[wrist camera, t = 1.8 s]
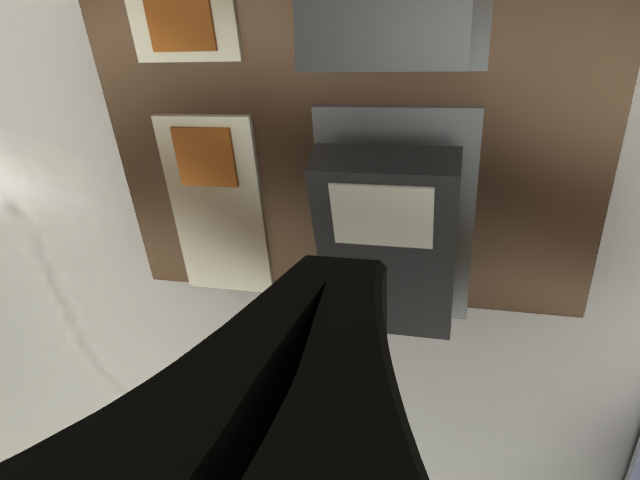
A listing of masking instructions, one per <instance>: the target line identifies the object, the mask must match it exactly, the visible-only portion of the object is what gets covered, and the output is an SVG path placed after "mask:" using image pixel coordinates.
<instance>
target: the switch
mask: <svg viewBox="0 0 640 480" xmlns="http://www.w3.org/2000/svg"><path fill="white" fill-rule="evenodd" d="M462 155H463V146H424V145H381V144H338V143H315V146H314V148H313V151H312V153H311V156H310V158H309V160H308V163H307V165H306V168H305V170H304V174H305V181H306V187H307V193H308V200H309V206H310V212H311V219H312V225H313V231H314V238H315V244H316V251H317V256H329V257H343V258H356V259H370V260H380V261H381V262H382V263H383V264H384V265H385V266H386V267H387V334H397V335H406V336H416V337H425V338H435V339H445V340H450V329H451V314H452V300H453V286H454V272H455V258H456V243H457V229H458V215H459V201H460V187H461V172H462Z"/></svg>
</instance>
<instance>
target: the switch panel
mask: <svg viewBox="0 0 640 480" xmlns="http://www.w3.org/2000/svg"><path fill="white" fill-rule="evenodd" d="M78 1H79V4H80V8H81V12H82V16H83V19H84V23H85V27H86V30H87V34H88V38H89V42H90V45H91V49H92V53H93V56H94V60H95V64H96V67H97V71H98V75H99V79H100V82H101V86H102V90H103V93H104V97H105V101H106V105H107V108H108V112H109V116H110V119H111V123H112V127H113V131H114V134H115V138H116V142H117V145H118V149H119V153H120V157H121V160H122V164H123V168H124V171H125V175H126V179H127V183H128V186H129V190H130V194H131V197H132V201H133V205H134V209H135V212H136V216H137V220H138V223H139V227H140V231H141V235H142V238H143V242H144V246H145V249H146V253H147V257H148V261H149V264H150V268H151V272H152V275H153V279H158V280H169V281H180V282H189V284H190V286H196V287H207V288H218V289H229V290H240V291H251V292H264V291H265V290H266V289H267V288H268V287H269V286H271V285H272V284H273V283H274V282H275V281H276V280H277V279H279V278H280V277H281V276H282V275H283V274H284V273H285V272H287V271H288V270H289V269H290V268H291V267H292V266H294V265H295V264H296V263H297V262H298V261H300V260H301V259H302V258H303V257H304V256H306V255H315V256H317V251H316V244H315V238H314V231H313V225H312V219H311V212H310V206H309V200H308V193H307V187H306V181H305V174H304V170H305V168H306V165H307V163H308V160H309V158H310V156H311V153H312V151H313V148H314V146H315V143H338V144H381V145H424V146H463V155H462V172H461V187H460V201H459V215H458V229H457V243H456V258H455V272H454V286H453V300H452V314H451V318H461V319H466V314H467V307H470V308H481V309H492V310H503V311H514V312H525V313H537V314H548V315H559V316H570V317H581V318H583V316H584V312H585V307H586V303H587V298H588V294H589V289H590V285H591V280H592V276H593V271H594V267H595V263H596V258H597V254H598V249H599V245H600V240H601V236H602V231H603V227H604V222H605V218H606V213H607V209H608V204H609V200H610V196H611V191H612V187H613V182H614V178H615V173H616V169H617V164H618V160H619V155H620V151H621V146H622V142H623V138H624V133H625V129H626V124H627V120H628V115H629V111H630V106H631V102H632V97H633V93H634V88H635V84H636V80H637V75H638V71H639V66H640V0H473V12H472V27H471V42H470V56H469V71H453V72H322V73H295V51H294V23H293V0H78Z"/></svg>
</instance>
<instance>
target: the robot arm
mask: <svg viewBox="0 0 640 480" xmlns="http://www.w3.org/2000/svg"><path fill="white" fill-rule="evenodd" d="M0 480H429V477H428V475H427V472H426V470H425V467H424V464H423V462H422V459H421V457H420V454H419V451H418V448H417V445H416V442H415V440H414V437H413V434H412V431H411V428H410V425H409V422H408V419H407V416H406V413H405V409H404V406H403V403H402V399H401V396H400V392H399V388H398V385H397V381H396V377H395V373H394V369H393V365H392V361H391V356H390V352H389V346H388V340H387V267H386V266H385V265H384V264H383V263H382V262H381V261H380V260H370V259H356V258H343V257H329V256H315V255H306V256H304V257H303V258H302V259H301V260H300V261H298V262H297V263H296V264H295V265H294V266H292V267H291V268H290V269H289V270H288V271H287V272H285V273H284V274H283V275H282V276H281V277H280V278H279V279H277V280H276V281H275V282H274V283H273V284H272V285H271V286H269V287H268V288H267V289H266V290H265V291H264V292H262V293H261V294H260V295H259V296H258V297H257V298H256V299H254V300H253V301H252V302H251V303H250V304H248V305H247V306H246V307H245V308H244V309H242V310H241V311H240V312H239V313H237V314H236V315H235V316H234V317H233V318H231V319H230V320H229V321H228V322H227V323H225V324H224V325H223V326H222V327H220V328H219V329H218V330H216V331H215V332H214V333H212V334H211V335H210V336H208V337H207V338H206V339H204V340H203V341H202V342H200V343H199V344H198V345H196V346H195V347H194V348H192V349H191V350H190V351H188V352H187V353H186V354H184V355H183V356H182V357H180V358H179V359H178V360H176V361H175V362H173V363H172V364H171V365H169V366H168V367H166V368H165V369H163V370H162V371H160V372H159V373H157V374H156V375H154V376H153V377H151V378H150V379H148V380H147V381H145V382H144V383H142V384H141V385H139V386H137V387H136V388H134V389H133V390H131V391H129V392H128V393H126V394H125V395H123V396H121V397H120V398H118V399H117V400H115V401H113V402H112V403H110V404H108V405H107V406H105V407H103V408H102V409H100V410H98V411H96V412H95V413H93V414H91V415H89V416H87V417H85V418H84V419H82V420H80V421H78V422H76V423H74V424H73V425H71V426H69V427H67V428H65V429H63V430H61V431H60V432H58V433H56V434H54V435H52V436H50V437H49V438H47V439H45V440H43V441H41V442H39V443H37V444H36V445H34V446H32V447H30V448H28V449H26V450H25V451H23V452H21V453H19V454H17V455H15V456H13V457H11V458H9V459H6V460H4V461H2V462H0ZM625 480H640V436H639V439H638V442H637V445H636V448H635V451H634V454H633V457H632V460H631V463H630V466H629V469H628V472H627V475H626V478H625Z"/></svg>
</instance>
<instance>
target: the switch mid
mask: <svg viewBox="0 0 640 480" xmlns="http://www.w3.org/2000/svg"><path fill="white" fill-rule="evenodd" d="M472 12H473V0H293V23H294V51H295V73H322V72H453V71H469V56H470V42H471V27H472Z"/></svg>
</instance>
